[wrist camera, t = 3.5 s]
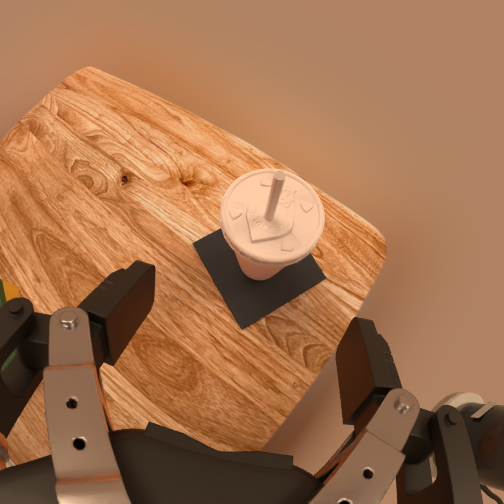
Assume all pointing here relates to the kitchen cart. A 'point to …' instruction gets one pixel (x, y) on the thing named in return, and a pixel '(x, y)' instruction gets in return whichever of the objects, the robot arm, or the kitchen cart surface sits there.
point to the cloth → (249, 290)
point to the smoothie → (270, 221)
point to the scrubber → (3, 293)
